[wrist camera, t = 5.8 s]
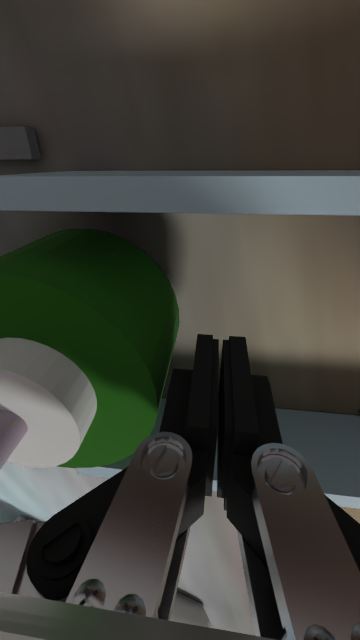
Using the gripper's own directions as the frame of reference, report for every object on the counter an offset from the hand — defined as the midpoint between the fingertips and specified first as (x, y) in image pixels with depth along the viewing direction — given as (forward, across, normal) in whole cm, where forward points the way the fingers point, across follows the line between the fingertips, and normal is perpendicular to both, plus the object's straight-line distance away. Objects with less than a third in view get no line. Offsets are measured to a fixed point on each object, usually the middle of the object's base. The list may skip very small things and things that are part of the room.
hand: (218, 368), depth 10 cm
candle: (+4, +6, 0) cm, 7 cm away
